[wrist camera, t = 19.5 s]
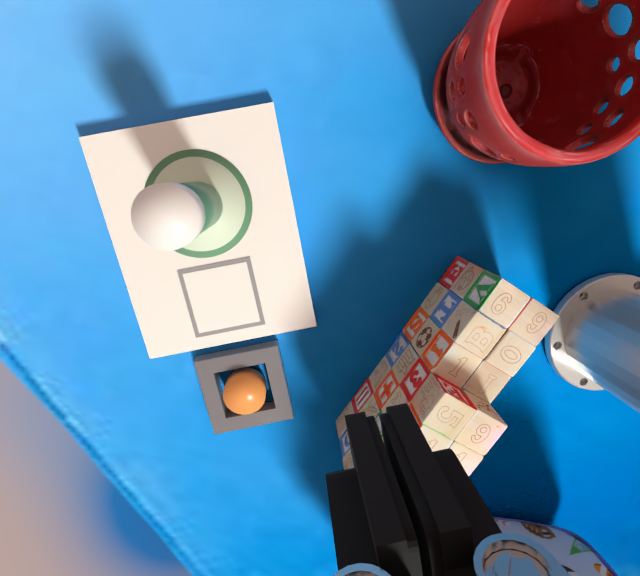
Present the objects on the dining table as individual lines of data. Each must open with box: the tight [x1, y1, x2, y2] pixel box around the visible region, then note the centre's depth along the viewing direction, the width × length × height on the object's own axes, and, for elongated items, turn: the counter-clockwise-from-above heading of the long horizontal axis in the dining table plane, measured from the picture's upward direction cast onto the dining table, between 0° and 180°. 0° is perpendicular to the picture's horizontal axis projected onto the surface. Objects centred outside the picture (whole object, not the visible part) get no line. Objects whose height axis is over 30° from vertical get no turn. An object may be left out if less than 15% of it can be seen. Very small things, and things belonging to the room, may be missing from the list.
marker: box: [131, 182, 223, 251], centre depth 31 cm, size 4×4×10 cm
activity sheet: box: [79, 102, 317, 359], centre depth 37 cm, size 16×20×1 cm
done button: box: [223, 367, 266, 415], centre depth 41 cm, size 4×4×2 cm
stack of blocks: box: [336, 256, 560, 476], centre depth 37 cm, size 21×6×12 cm, turn 147°
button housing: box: [194, 340, 294, 434], centre depth 41 cm, size 8×8×2 cm
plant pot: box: [433, 0, 640, 167], centre depth 31 cm, size 13×13×12 cm
